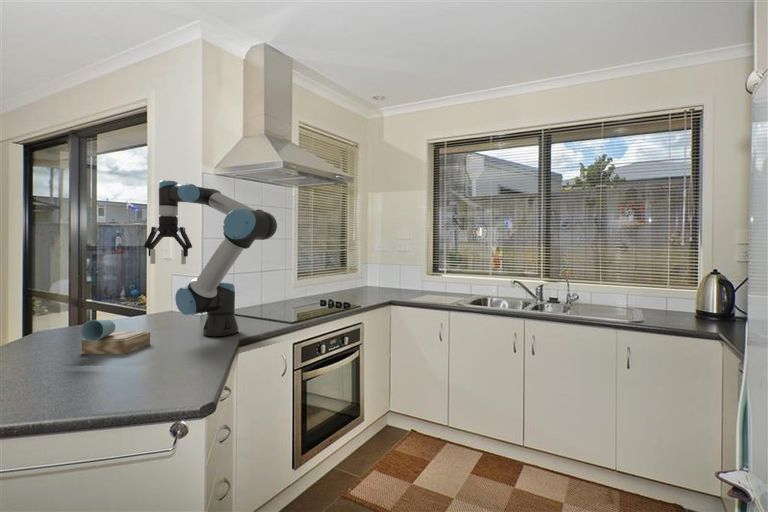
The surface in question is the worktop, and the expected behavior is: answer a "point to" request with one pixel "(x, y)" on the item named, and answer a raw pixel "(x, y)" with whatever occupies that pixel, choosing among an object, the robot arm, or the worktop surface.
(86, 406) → the worktop surface
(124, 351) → the base
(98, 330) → the cup
